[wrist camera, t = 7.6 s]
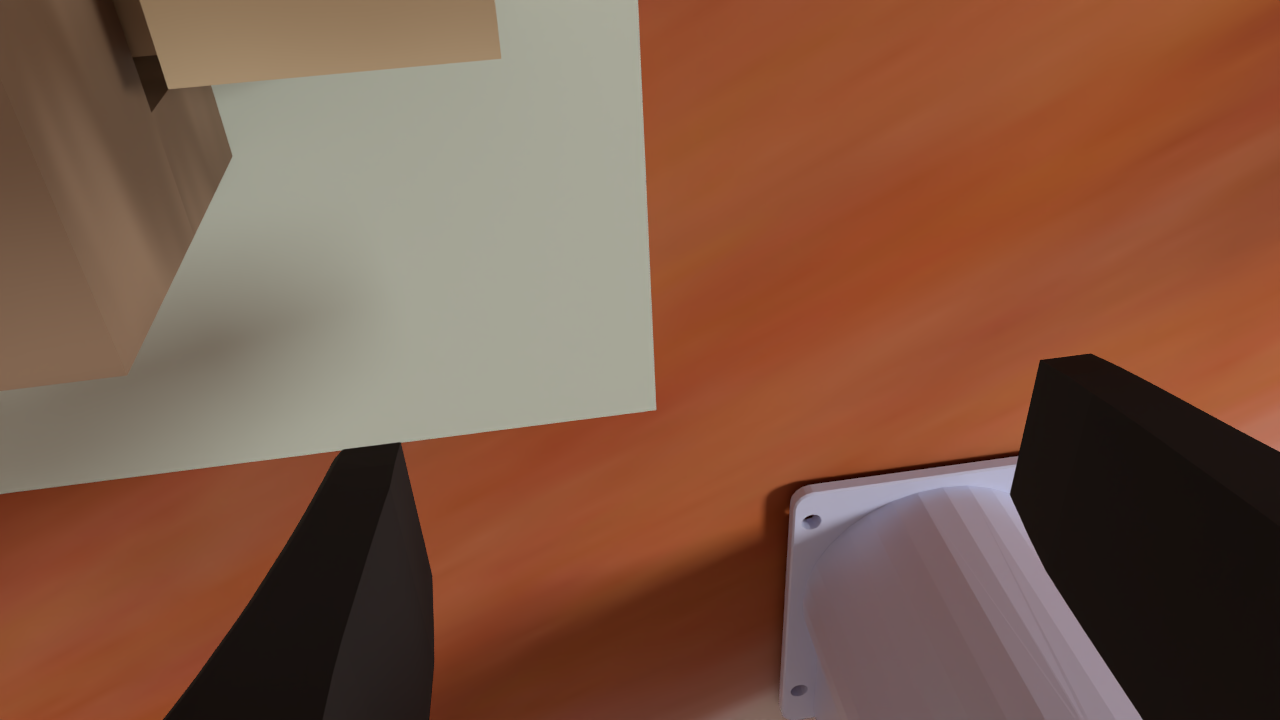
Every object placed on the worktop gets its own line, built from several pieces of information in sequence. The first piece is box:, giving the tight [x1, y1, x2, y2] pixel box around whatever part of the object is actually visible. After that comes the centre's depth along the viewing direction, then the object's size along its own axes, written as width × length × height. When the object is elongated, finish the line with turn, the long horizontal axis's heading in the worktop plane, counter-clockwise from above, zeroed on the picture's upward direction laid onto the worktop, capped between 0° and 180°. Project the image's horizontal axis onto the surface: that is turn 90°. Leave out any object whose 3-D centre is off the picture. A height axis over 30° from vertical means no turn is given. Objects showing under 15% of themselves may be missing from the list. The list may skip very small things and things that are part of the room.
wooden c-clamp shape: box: [0, 0, 233, 391], centre depth 13 cm, size 7×2×7 cm, turn 3°
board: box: [0, 0, 656, 494], centre depth 18 cm, size 14×16×1 cm
